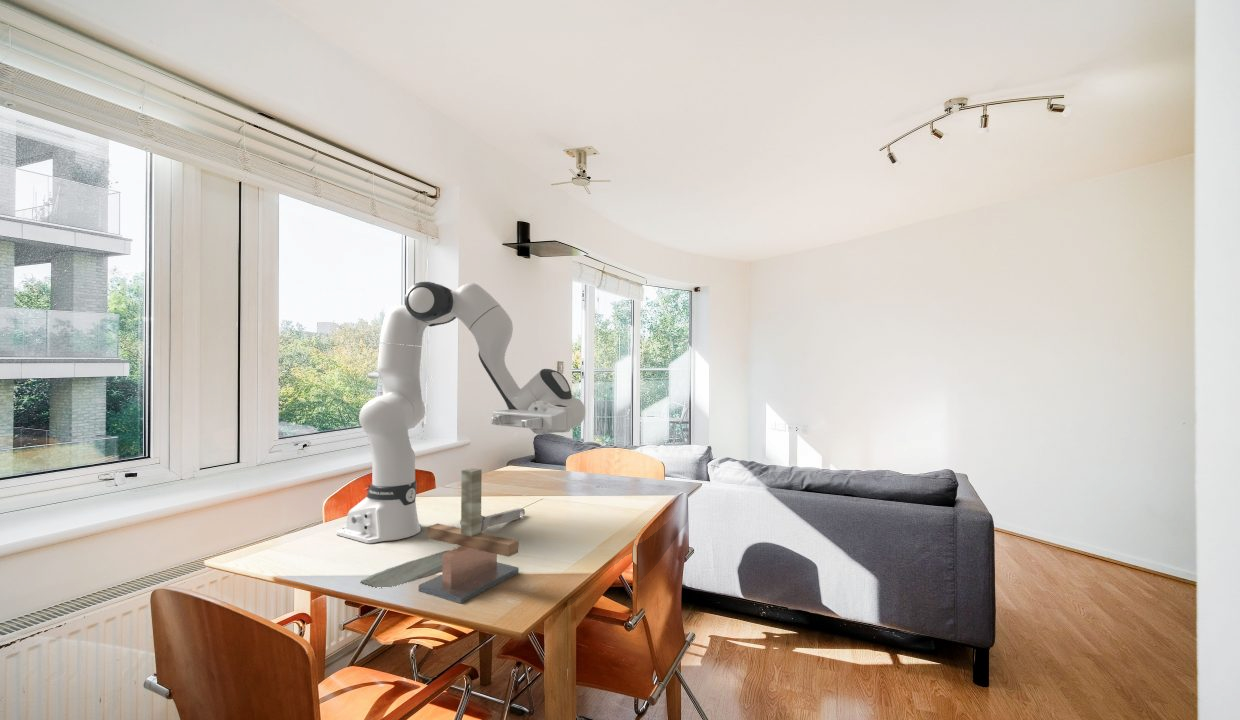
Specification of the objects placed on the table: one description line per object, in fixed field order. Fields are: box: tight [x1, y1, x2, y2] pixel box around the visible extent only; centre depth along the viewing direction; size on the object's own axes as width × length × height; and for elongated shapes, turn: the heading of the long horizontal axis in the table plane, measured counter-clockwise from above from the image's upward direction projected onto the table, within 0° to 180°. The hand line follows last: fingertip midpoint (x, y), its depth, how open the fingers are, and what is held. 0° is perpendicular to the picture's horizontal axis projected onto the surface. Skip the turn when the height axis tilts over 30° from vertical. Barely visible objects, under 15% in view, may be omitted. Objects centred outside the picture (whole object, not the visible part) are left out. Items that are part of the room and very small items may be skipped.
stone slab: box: [360, 549, 451, 589], centre depth 124 cm, size 22×3×10 cm
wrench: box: [459, 507, 526, 533], centre depth 155 cm, size 8×2×30 cm
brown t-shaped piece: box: [426, 467, 519, 558], centre depth 118 cm, size 24×3×16 cm, turn 61°
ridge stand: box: [418, 546, 520, 604], centre depth 118 cm, size 12×18×8 cm, turn 151°
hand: (508, 422), depth 129 cm, fingers open, 8 cm apart
